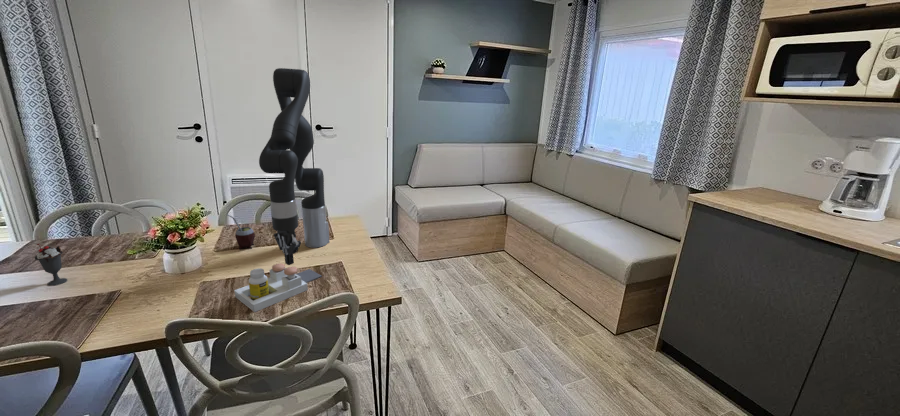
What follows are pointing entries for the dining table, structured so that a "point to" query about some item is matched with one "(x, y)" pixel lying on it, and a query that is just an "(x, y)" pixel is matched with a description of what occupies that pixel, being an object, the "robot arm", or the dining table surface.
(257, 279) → the supplement bottle
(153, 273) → the dining table surface
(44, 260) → the sundae
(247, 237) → the mate gourd
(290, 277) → the plunger
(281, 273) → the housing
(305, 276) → the pad
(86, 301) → the dining table surface
